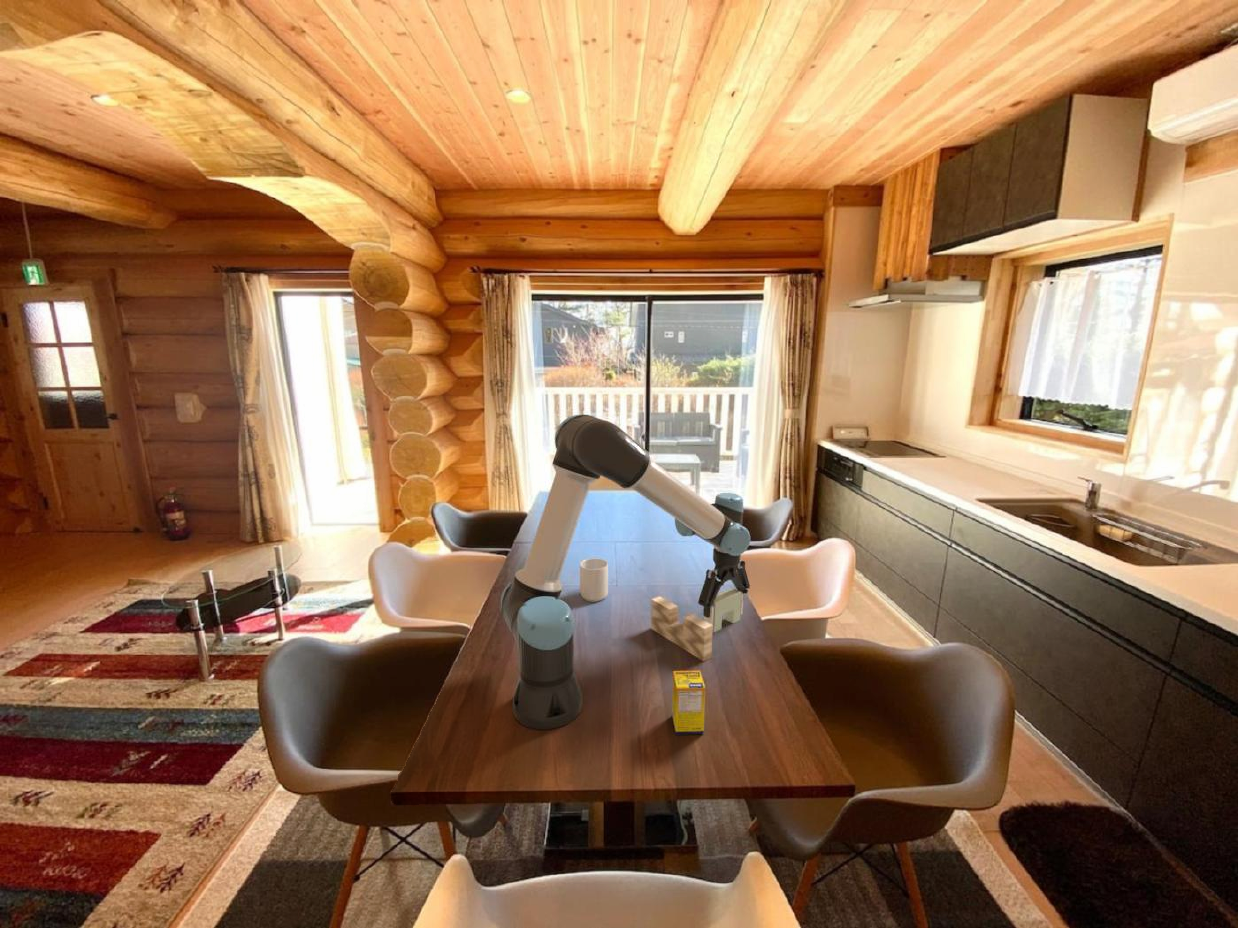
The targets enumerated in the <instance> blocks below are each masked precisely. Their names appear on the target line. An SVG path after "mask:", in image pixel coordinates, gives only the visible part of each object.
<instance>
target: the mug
mask: <svg viewBox="0 0 1238 928" xmlns="http://www.w3.org/2000/svg"><path fill="white" fill-rule="evenodd" d="M579 585H580V586H579V587H580V588H579V589H580V590H579V591H580V592H579V593H580V596H581V598H583V600H585V601H588V602H591V603H593V602H595V603H597V602H600V601H602V600H605V598H607V596H608V594H609V562H608V561H607V560H604V559H602V558H586V559H584V560H582V561H580V564H579Z"/></svg>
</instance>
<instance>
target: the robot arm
mask: <svg viewBox="0 0 1238 928" xmlns="http://www.w3.org/2000/svg"><path fill="white" fill-rule="evenodd" d="M554 445H555V448H556V451H555V454H554V457H553V461H552V464H551V465H552V467H553V468H554V469H553V470H554V471H555V475H554V477H553V481H552V484H551V487H550V490H549V492H548V495H547V499H546V502H545V504H544V508H543V512H542V514H541V517H540V520H539V523H538V525H537V528H536V532H535V535H534V538H533V541H532V544H531V547H530V550H529V553H528V556H527V559H526V562H525V565H524V567H523V568H522V569H519V570H517V571H516V573H515V575H514V578H513V580H512V581H510V582H509V583H507V585H506V586H505V588H504V589H503V592H502V594H501V598H500V607H501V610H500V611H501V613H502V616H503V619H504V620H505V622H506V625H507V627H508V629H509V630H510V633H511V634H512V637H513V638H514V640H515V643H516V645H517V649H518V662H519V663H518V665H519V678H518V681H517V685H516V687H515V691H514V694H513V698H512V712H513V715H514V717H515V718H516V720H517V722H519V723H520V724H521V725H523V726H525V727H528V728H531V729H535V730H551V729H556V728H560V727H562V726H565V725H567V724H569V723H570V722H572V721H574V720H575V719H576V718H577V717H578V715H579V714H580V712H581V711H582V707H583V693H582V689H581V687H580V684H579V681H578V678H577V676H576V674H575V667H574V664H575V661H574V630H575V629H574V627H575V623H574V617H573V612H572V609H571V606H569V604H568V603H567V602H565V601H563V600H562V599H560V597H561V593H562V591H563V587H564V586H563V584H562V582H561V580H560V576H561V573H562V570H563V567H564V565H565V562H566V558H567V555H568V553H569V550H570V547H571V544H572V541H573V538H574V535H575V533H576V529H577V526H578V523H579V520H580V517H581V515H582V511H583V509H584V506H585V502H586V499H587V496H588V493H589V491H590V488H591V486H592V484H593V483H596V482H597V481H600V479H601V477H603V478H605V479H607V480H610V481H611V482H613V483H615V484H616V485H618V486H620V487H621V488H622V489H626V490H627V489H630V488H631V489H633V490H634V491H635V492H636V493H638V494H639V495H641V496H642V497H643V498H645V499H647V500H648V501H649V502H651V503H652V504H653V505H655V506H657V507H659V508H660V509H661V510H662V511H664V512H666V513H667V514H669V516H670V517H673V518H674V527H675V529H676V531H677V533H678V534H679V535H680V536H681V537H692V536H696V537H698V538H700V539H701V540H704V541H705V542H707V543H709V544H710V545H712V547H713V549H712V561H713V562H714V569H712V570H711V569H706V571H705V578H704V583H703V585H702V589H701V592H700V594H699V598H698V600H697V603H698V605H700V606H701V607H703V612H702V613H703V614H702V615H703V620H704V621H706V622H708V623H710V624H711V625H713V615H714V606H712V604H713V602H714V600H715V598H716V596H717V595H718V594H719V592H720V590H721V588H722V586H723V587H724V585H725V583H726V582H728V581H731V582H732V584H733V586H734V587H735V589H736V590H738V591H741V608H740V616H741V615H743V613H744V612H743V611H744V610H743V608H744V600H745V595H746V594H748V592H749V591H748V590H749V589H750V587H751V585H750V582H749V581H750V580H749V578H748V574H747V570H746V561H745V560H742V559H741V555H742V554H744V553H745V552H746V551H747V549H748V547H749V546H750V543H751V535H750V534H751V533H750V532H749V530H748V528H746V527H745V526H743V520H744V519H743V518H744V499H743V497H742V496H741V495H739V494H736V493H733V492H732V493H731V492H721V493H719V494H716V496H715V500H714V503H709V502H708V501H707V500H706V499H704V498H703V497H701V496H700V495H699V494H698V493H697V492H695V491H694V490H692V489H691V488H690V487H688V486H687V485H685V483H683V482H682V481H680V480H679V479H678V478H676V477H675V476H674V475H672V474H671V473H669V471H667V470H665V469H664V468H663V467H662V466H660V465H659V464H658V463H656V462H654V460H652V456H651V453H650V452H649V451H648V450H646V449H645V448H644V447H643V446H641V445H640V443H638V442H637V441H636V440H635V439H634V438H632V437H631V436H629V434H627V433H626V432H625V431H624V430H623V429H622V428H620V427H619V426H618V425H617V424H615V423H614V422H613V423H612V422H611V421H609V420H606V419H605V420H604V419H601V418H598V417H595V416H593V415H590V414H573V415H571V416H569V417H567V418H565V419H564V420H562V421H561V423H560V424H559V426H558V427H557V429H556V432H555V436H554Z"/></svg>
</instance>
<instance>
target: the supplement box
mask: <svg viewBox="0 0 1238 928" xmlns="http://www.w3.org/2000/svg"><path fill="white" fill-rule="evenodd" d="M671 693H672V695H671V696H672V697H671V700H672V701H671V706H672V707H671V717H672V723H673V726H674V727H673V729H674V732H675V735H677V736H678V735H703V734H704V733H705V732H704V731H705V705H706V686H705V682H704V679H703V676H702V673H701V670H673V671H672V692H671Z"/></svg>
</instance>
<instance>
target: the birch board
mask: <svg viewBox="0 0 1238 928" xmlns="http://www.w3.org/2000/svg"><path fill="white" fill-rule="evenodd" d="M650 608H651V614H650V615H651V617H650V618H651V619H650V620H651V621H650V622H651V623H650V629H651V630H653V631H654V632H656V633H657V634H659V635H661V636H662V637H664V638H666V639H667V640H668V641H670V642H672V643H673V644H675V645H677V646H678V647H679V648H681V649H682V650H684V651H686V652H688V653H689V654H691V655H692V656H694V657H696V658H697V659H699V660H700V661H702V662H705V661H707V660H708V659H711V658H712V656H713V655H712V652H713V651H712V649H713V634H714V632H713V625H711V624H710V623H708V622H706V621H704V619H702V618H701V617H698V616H696V615H695V614H693V613H690V614H687V615H685V616H683V619H682V623H681V622H679V606H678V605H677V604H675V603H673V602H671V601H670V600H668V599H666V598H663V597H662V596H660V595H659V596H656V597H654V598H651V607H650Z"/></svg>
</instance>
